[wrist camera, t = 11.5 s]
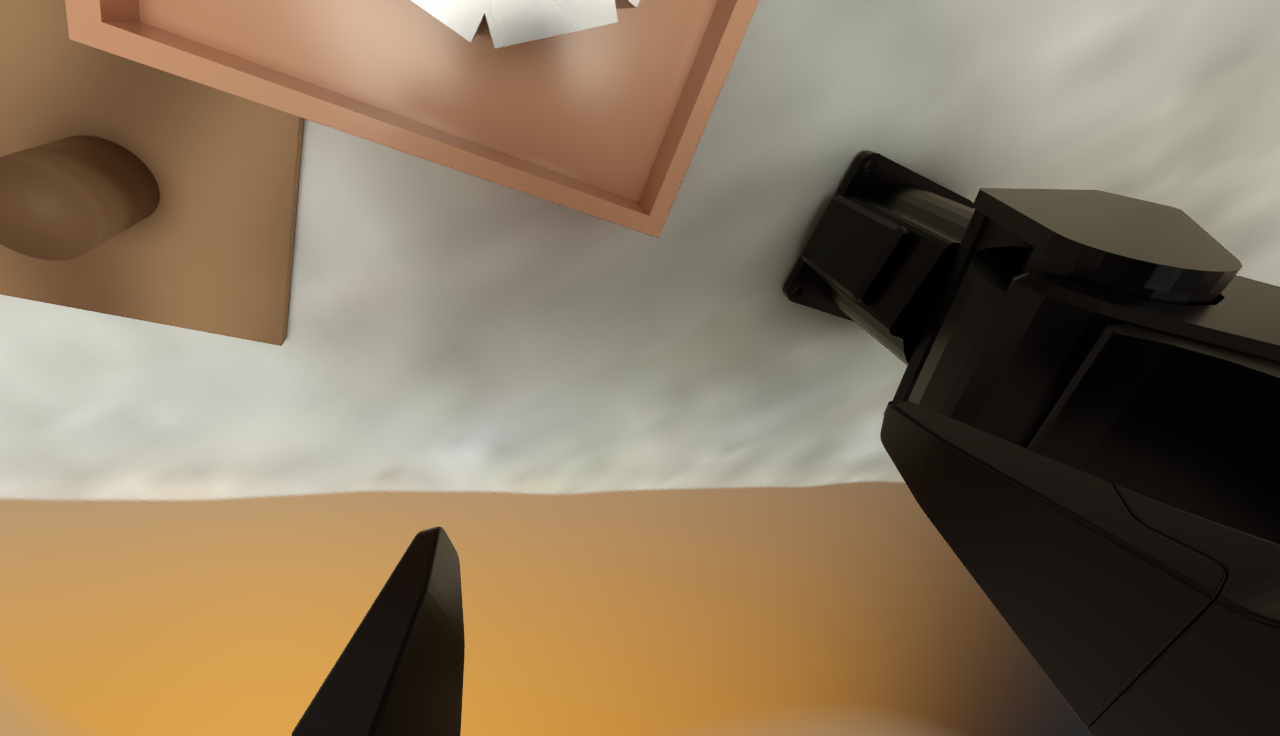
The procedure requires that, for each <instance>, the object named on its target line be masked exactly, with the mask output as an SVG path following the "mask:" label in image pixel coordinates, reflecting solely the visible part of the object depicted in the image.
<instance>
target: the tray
mask: <svg viewBox="0 0 1280 736" xmlns="http://www.w3.org/2000/svg"><path fill="white" fill-rule="evenodd" d="M758 1H759V0H641V1H640V2H639V4H638V6H637V8H625V9H616V12H617V18H618V22H617V23H612V24H608V25H603V26H598V27H594V28H589V29H584V30H580V31H575V32H570V33H566V34H561V35H556V36H552V37H547V38H542V39H537V40H533V41H528V42H523V43H519V44H514V45H509V46H505V47H500V48H495V47H494V44H493V40H492V37H491V33H490V30H489V26H488V23H487V19H486V17H485V19H484V21H483V23H482V26H481V28H480V30H479V32H478V34H477V35H476V37H475V38H474V39H473V41H472V42H471V43H470V42H469V41H468V40H466V39H465V38H463V37H462V36H461V35H459V34H458V33H456V32H455V31H454V30H452V29H451V28H449V27H448V26H446V25H445V24H444V23H442V22H441V21H439V20H438V19H437V18H435V17H434V16H432V15H431V14H430V13H428V12H427V11H425V10H424V9H423V8H421V7H420V6H418V5H417V4H415V3H414V2H413V1H411V0H65V5H66V14H67V23H68V32H69V39H71V40H74V41H77V42H79V43H82V44H85V45H88V46H91V47H94V48H97V49H100V50H103V51H106V52H109V53H112V54H115V55H118V56H121V57H124V58H127V59H130V60H133V61H136V62H139V63H142V64H145V65H148V66H151V67H154V68H156V69H159V70H162V71H165V72H168V73H171V74H174V75H177V76H180V77H183V78H186V79H189V80H192V81H195V82H198V83H201V84H204V85H207V86H210V87H213V88H216V89H219V90H222V91H225V92H228V93H230V94H233V95H236V96H239V97H242V98H245V99H248V100H251V101H254V102H257V103H260V104H263V105H266V106H269V107H272V108H275V109H278V110H281V111H284V112H287V113H290V114H293V115H296V116H299V117H302V118H305V119H307V120H310V121H313V122H316V123H319V124H322V125H325V126H328V127H331V128H334V129H337V130H340V131H343V132H346V133H349V134H352V135H355V136H358V137H361V138H364V139H367V140H370V141H373V142H376V143H379V144H381V145H384V146H387V147H390V148H393V149H396V150H399V151H402V152H405V153H408V154H411V155H414V156H417V157H420V158H423V159H426V160H429V161H432V162H435V163H438V164H441V165H444V166H447V167H450V168H453V169H456V170H458V171H461V172H464V173H467V174H470V175H473V176H476V177H479V178H482V179H485V180H488V181H491V182H494V183H497V184H500V185H503V186H506V187H509V188H512V189H515V190H518V191H521V192H524V193H527V194H530V195H532V196H535V197H538V198H541V199H544V200H547V201H550V202H553V203H556V204H559V205H562V206H565V207H568V208H571V209H574V210H577V211H580V212H583V213H586V214H589V215H592V216H595V217H598V218H601V219H604V220H607V221H609V222H612V223H615V224H618V225H621V226H624V227H627V228H630V229H633V230H636V231H639V232H642V233H645V234H648V235H651V236H654V237H657V238H658V237H659V235H660V233H661V230H662V228H663V225H664V223H665V221H666V218H667V216H668V214H669V211H670V209H671V207H672V204H673V202H674V200H675V197H676V195H677V192H678V190H679V188H680V185H681V183H682V181H683V178H684V176H685V174H686V171H687V169H688V167H689V164H690V162H691V159H692V157H693V155H694V152H695V150H696V148H697V145H698V143H699V141H700V138H701V136H702V133H703V131H704V129H705V126H706V124H707V122H708V119H709V117H710V115H711V112H712V110H713V108H714V105H715V103H716V100H717V98H718V96H719V93H720V91H721V89H722V86H723V84H724V82H725V79H726V77H727V75H728V72H729V70H730V67H731V65H732V63H733V60H734V58H735V56H736V53H737V51H738V49H739V46H740V44H741V42H742V39H743V37H744V34H745V32H746V30H747V27H748V25H749V23H750V20H751V18H752V16H753V13H754V11H755V8H756V6H757V4H758Z"/></svg>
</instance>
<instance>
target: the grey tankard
mask: <svg viewBox="0 0 1280 736" xmlns="http://www.w3.org/2000/svg"><path fill="white" fill-rule="evenodd" d="M411 1H413V2H414V3H415V4H417V5H418V6H420V7H421V8H423V9H424V10H425V11H427V12H428V13H430V14H431V15H432V16H434V17H435V18H437V19H438V20H439V21H441V22H442V23H444V24H445V25H446V26H448V27H449V28H451V29H452V30H454V31H455V32H456V33H458V34H459V35H461V36H462V37H463V38H465V39H466V40H468V41H469V42H470V43H471V42H472V41H473V39H474V38H475V37H476V35H477V34H478V32H479V30H480V28H481V26H482V23H483V21H484V19H485V17H486V19H487V23H488V26H489V30H490V33H491V37H492V40H493V44H494V47H495V48H500V47H505V46H509V45H514V44H519V43H523V42H528V41H533V40H537V39H542V38H547V37H552V36H556V35H561V34H566V33H570V32H575V31H580V30H584V29H589V28H594V27H598V26H603V25H608V24H612V23H617V22H618V18H617V12H616V9H625V8H637V6H638V4H639V2H640V1H641V0H411Z"/></svg>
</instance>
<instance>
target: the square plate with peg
mask: <svg viewBox="0 0 1280 736" xmlns="http://www.w3.org/2000/svg"><path fill="white" fill-rule="evenodd" d="M303 121H304V118H302V117H299V116H296V115H293V114H290V113H287V112H284V111H281V110H278V109H275V108H272V107H269V106H266V105H263V104H260V103H257V102H254V101H251V100H248V99H245V98H242V97H239V96H236V95H233V94H230V93H228V92H225V91H222V90H219V89H216V88H213V87H210V86H207V85H204V84H201V83H198V82H195V81H192V80H189V79H186V78H183V77H180V76H177V75H174V74H171V73H168V72H165V71H162V70H159V69H156V68H154V67H151V66H148V65H145V64H142V63H139V62H136V61H133V60H130V59H127V58H124V57H121V56H118V55H115V54H112V53H109V52H106V51H103V50H100V49H97V48H94V47H91V46H88V45H85V44H82V43H79V42H77V41H74V40H71V39H69V32H68V23H67V14H66V5H65V0H0V294H2V295H7V296H13V297H18V298H24V299H29V300H35V301H40V302H45V303H51V304H56V305H62V306H67V307H73V308H78V309H84V310H89V311H95V312H100V313H106V314H111V315H116V316H122V317H127V318H133V319H138V320H144V321H149V322H155V323H160V324H166V325H171V326H177V327H182V328H188V329H193V330H198V331H204V332H209V333H215V334H220V335H226V336H231V337H237V338H242V339H248V340H253V341H259V342H264V343H269V344H275V345H280V346H282V344H283V343H284V341H285V339H286V332H287V320H288V307H289V295H290V283H291V270H292V258H293V245H294V233H295V221H296V208H297V196H298V183H299V171H300V159H301V146H302V134H303Z"/></svg>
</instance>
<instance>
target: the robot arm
mask: <svg viewBox="0 0 1280 736" xmlns="http://www.w3.org/2000/svg"><path fill="white" fill-rule="evenodd" d="M870 160H871V164H870V167H869V168H868V169H867V170H865V166H866V164H867V163H868V162H869V161H870ZM973 208H975V209H973ZM1241 267H1242V265H1241V263H1240V261H1239V260H1238V259H1237V258H1236V257H1234V256H1233V255H1232V254H1231V253H1230V252H1229V251H1228V250H1226V249H1225V248H1224V247H1223V246H1222V245H1221V244H1220V243H1218V242H1217V241H1216V240H1215V239H1214V238H1213V237H1212V236H1210V235H1209V234H1208V233H1207V232H1206V231H1205V230H1204V229H1202V228H1201V227H1200V226H1199V225H1198V224H1197V223H1196V222H1195V221H1193V220H1192V219H1191V218H1190V217H1189V216H1188V215H1187V214H1185V213H1184V212H1183V211H1182V210H1180V209H1177V208H1173V207H1169V206H1165V205H1161V204H1156V203H1152V202H1147V201H1143V200H1139V199H1134V198H1130V197H1125V196H1121V195H1116V194H1112V193H1108V192H1103V191H1097V190H1059V189H999V188H981V189H980V190H979V193H978V195H977V197H976V200H975V202H974V204H973V203H972V202H971V201H970V200H968V199H966V198H964V197H962V196H960V195H958V194H956V193H954V192H953V191H951V190H949V189H947V188H945V187H943V186H941V185H939V184H937V183H935V182H933V181H931V180H929V179H927V178H925V177H923V176H921V175H919V174H917V173H915V172H913V171H911V170H909V169H907V168H905V167H903V166H902V165H900V164H898V163H896V162H894V161H892V160H890V159H888V158H886V157H884V156H882V155H880V154H878V153H875V152H872V151H865V152H863V153H861V154H860V155H859V156H858V157H857V159H856V160H855V162H854V163H853V165H852V167H851V169H850V171H849V172H848V174H847V176H846V178H845V179H844V181H843V183H842V185H841V186H840V188H839V190H838V192H837V193H836V195H835V197H834V199H833V200H832V201H831V203H830V205H829V207H828V208H827V210H826V212H825V214H824V215H823V217H822V219H821V221H820V222H819V224H818V226H817V228H816V229H815V231H814V233H813V235H812V236H811V238H810V240H809V242H808V244H807V245H806V247H805V249H804V251H803V252H802V255H801V257H800V259H799V260H798V262H797V264H796V266H795V267H794V269H793V271H792V273H791V274H790V276H789V278H788V280H787V281H786V283H785V285H784V288H783V293H784V295H785V296H786V297H787V298H788V299H789V300H791V301H792V302H795V303H798V304H802V305H805V306H808V307H811V308H814V309H817V310H820V311H824V312H827V313H830V314H833V315H836V316H839V317H842V318H845V319H849V320H852V321H855V322H856V323H857V324H858V325H860V326H861V327H862V328H863V329H864V330H866V331H867V332H868V333H869V334H870V335H872V336H873V337H874V338H875V339H876V340H878V341H879V342H880V343H881V344H882V345H884V346H885V347H886V348H887V349H888V350H889V351H891V352H892V353H893V354H894V355H895V356H897V357H898V358H899V359H900V360H901V361H903V362H904V363H905V364H906V365H907V368H906V371H905V373H904V375H903V378H902V380H901V382H900V385H899V387H898V389H897V392H896V394H895V396H894V398H893V401H891V402H889V403H888V405H887V408H886V410H885V412H884V419H883V424H882V428H881V441H882V444H883V446H884V448H885V449H886V451H887V453H888V454H889V456H890V458H891V459H892V461H893V463H894V464H895V466H896V468H897V469H898V471H899V472H900V474H901V476H902V477H903V479H904V481H905V482H906V484H907V485H908V488H909V489H910V491H911V492H912V494H913V496H914V497H915V499H916V501H917V502H918V504H919V505H920V507H921V508H922V510H923V511H924V512H925V514H926V515H927V517H928V518H929V519H930V521H931V522H932V523H933V525H934V526H935V527H936V528H937V530H938V531H939V533H940V534H941V535H942V536H943V538H944V539H945V540H946V542H947V543H948V544H949V546H950V547H951V548H952V550H953V551H954V552H955V554H956V555H957V557H958V558H959V559H960V561H961V562H962V563H963V565H964V566H965V567H966V569H967V570H968V571H969V573H970V574H971V575H972V576H973V578H974V579H975V580H976V582H977V583H978V585H980V587H981V589H982V590H983V591H984V593H985V594H986V595H987V596H988V598H989V599H990V600H991V602H992V603H993V604H994V606H995V607H996V608H997V610H998V611H999V612H1000V614H1001V615H1002V616H1003V617H1004V619H1005V620H1006V622H1007V623H1008V624H1009V626H1010V627H1011V628H1012V630H1013V631H1014V632H1015V634H1016V635H1017V636H1018V638H1019V639H1020V640H1021V642H1022V643H1023V644H1024V646H1025V647H1026V648H1027V650H1028V651H1029V652H1030V654H1031V655H1032V656H1033V658H1034V659H1035V660H1036V662H1037V663H1038V664H1039V666H1040V667H1041V668H1042V670H1043V671H1044V672H1045V674H1046V675H1047V676H1048V678H1049V679H1050V680H1051V682H1052V683H1053V684H1054V686H1055V687H1056V688H1057V690H1058V691H1059V692H1060V694H1061V695H1062V696H1063V698H1064V699H1065V700H1066V702H1067V703H1068V704H1069V706H1070V707H1071V708H1072V710H1073V711H1074V712H1075V714H1076V715H1077V716H1078V718H1079V719H1080V720H1081V722H1082V723H1083V724H1084V725H1085V726H1086V727H1088V728H1087V730H1088V731H1089V733H1090V734H1091V735H1092V736H1280V287H1278V286H1274V285H1270V284H1267V283H1263V282H1259V281H1255V280H1252V279H1248V278H1244V277H1241V276H1237V275H1236V274H1237V273H1238V271H1239V270H1240V269H1241ZM797 286H799V288H798V290H797V291H796V292H794V293H792V292H793V290H794V289H795V287H797ZM464 644H465V643H464V623H463V609H462V593H461V577H460V563H459V557H458V554H457V552H456V550H455V548H454V546H453V544H452V543H451V541H450V539H449V537H448V535H447V534H446V532H445V530H444V529H443V528H442V527H435V528H430V529H427V530H423V531H420V532H419V533H418V534H417V535H416V536H415V537H414V539H413V541H412V542H411V544H410V545H409V547H408V548H407V550H406V552H405V553H404V555H403V557H402V558H401V560H400V561H399V563H398V565H397V566H396V568H395V569H394V571H393V573H392V574H391V576H390V578H389V579H388V580H387V582H386V584H385V585H384V587H383V588H382V590H381V592H380V593H379V595H378V596H377V598H376V600H375V601H374V603H373V604H372V606H371V608H370V609H369V611H368V613H367V614H366V616H365V617H364V619H363V621H362V622H361V624H360V625H359V627H358V628H357V630H356V632H355V633H354V635H353V636H352V638H351V640H350V641H349V643H348V644H347V646H346V647H345V649H344V651H343V653H342V654H341V655H340V657H339V659H338V660H337V662H336V664H335V665H334V667H333V668H332V670H331V672H330V673H329V675H328V676H327V678H326V679H325V681H324V683H323V684H322V686H321V687H320V689H319V691H318V692H317V694H316V696H315V697H314V699H313V700H312V702H311V703H310V705H309V707H308V708H307V710H306V711H305V713H304V715H303V716H302V718H301V719H300V721H299V723H298V724H297V726H296V727H295V729H294V731H293V732H292V736H460V730H461V712H462V692H463V691H462V690H463V670H464Z"/></svg>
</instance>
